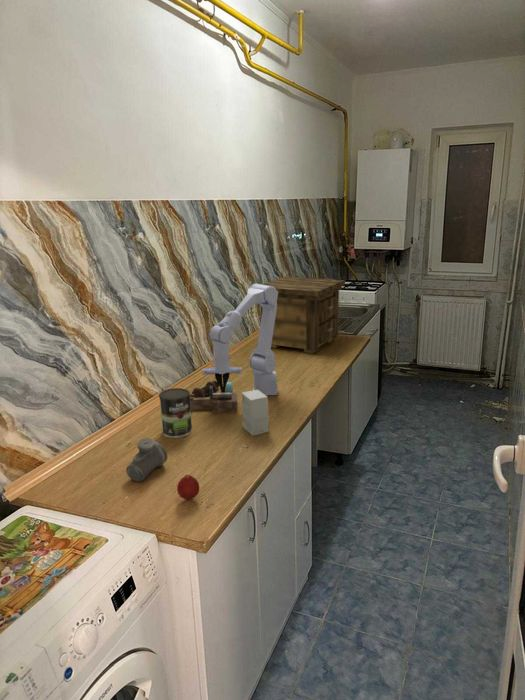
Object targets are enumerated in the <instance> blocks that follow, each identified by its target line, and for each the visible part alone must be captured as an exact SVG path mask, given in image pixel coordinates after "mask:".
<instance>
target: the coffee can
mask: <svg viewBox="0 0 525 700" xmlns="http://www.w3.org/2000/svg"><path fill="white" fill-rule="evenodd" d="M190 394H191V392H190V390H188V389H186V388H181V387H176V388H175V387H174V388H169V389H164V390H162V391H160V392H159V393H158V398H159V404H160V405H159V407H160V419H161V431H162V433H161V434H162V435H163V436H164V437H166V438H171V439H177V438H179V439H180V438H184V437H187V436H189V435H190V434H191V433H192V432H193V426H192V413H191V411H192V410H191V409H190Z"/></svg>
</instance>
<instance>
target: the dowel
mask: <svg viewBox="0 0 525 700" xmlns="http://www.w3.org/2000/svg"><path fill="white" fill-rule="evenodd" d="M233 388H234V387H233V382H232V381H227V384H226V387H225V393H234V390H233Z"/></svg>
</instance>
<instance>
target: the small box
mask: <svg viewBox="0 0 525 700" xmlns="http://www.w3.org/2000/svg"><path fill="white" fill-rule="evenodd" d="M241 406H242V407H241V410H242V411H241V413H242V427H243V428H244V429H245V431H247V432H248V433H249V434H250V435H251V436H252V437H253V436H258V435H262V434H266V433H269V431H270V430H269V428H270V427H269V397H268V395H264V394H263V393H262V392H260V391H259V390H253V389H252V390H249V391H248V390H247V391H242V392H241Z"/></svg>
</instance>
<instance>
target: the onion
mask: <svg viewBox="0 0 525 700" xmlns="http://www.w3.org/2000/svg"><path fill="white" fill-rule="evenodd" d="M176 489H177V490H176V491H177V494H178V495H179V497H180V498H182V499H183V500H185V501H188V502H190V500H191V501H192V500H193V499H195V498H196V497H197V495H198V494H199V491H200V484H199V481H198V480H197V478H195V477H194V476H192V475H190V474H189V473H186V474H185V475H184V476H182V477H181V478H180V480H179V481H178V483H177V488H176Z"/></svg>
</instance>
